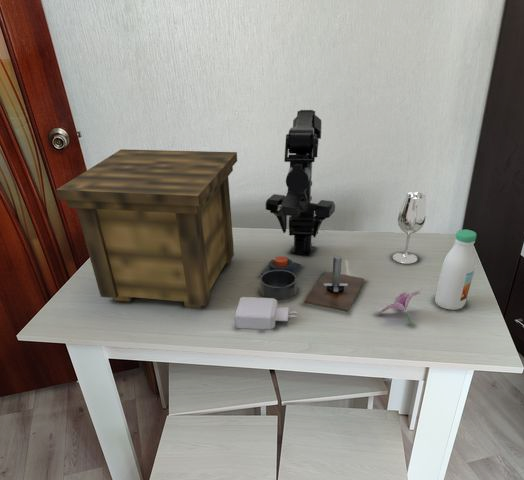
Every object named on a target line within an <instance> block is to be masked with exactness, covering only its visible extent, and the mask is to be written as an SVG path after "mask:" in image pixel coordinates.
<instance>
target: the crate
mask: <svg viewBox="0 0 524 480" xmlns="http://www.w3.org/2000/svg"><path fill="white" fill-rule="evenodd" d="M237 162H238V152H237V151H202V150H195V151H194V150H164V149H163V150H161V149H124V148H123V149H122V148H121V149H119V150H117V151H116V152H114V153H113V154H111V155H109V156H108V157H106V158H105V159H103V160H101V161H100V162H98V163H96V164H95V165H93V166H92V167H90V168H88V169H87V170H85V171H83V172H82V173H80V174H79V175H78V176H76V177H74V178H72V179H71V180H69V181H68V182H66V183H64V184H63V185H61V186H59V187H58V188H56V189H55V191H56V194H57V198H58V200H60V201H62V200H63V201H66V203H67V207H68V208H69V209H70V208H72V209H75V210H76V212H77V213H76V214H77V216H78V220H79V222H80V227H81V231H82V234H83V237H84V242H85V246H86V249H87V253H88V255H89V260H90V263H91V266H92V270H93V273H94V278H95V281H96V285H97V288H98V292H99V295H100V297H101V298H110V299H111V298H112V299H113V301H118V302H131V301H132V299H134V298H139V299H151V300H162V301H173V302H174V301H175V302H183V305H184V307H187V308H198V309H199V308H200V309H201V308H202V307H204V306H207V304H208V302H209V300H210V298H211V290H212V288H213V286H214V284H215V283H216V281H217V279H218V277H219V276H220V273H221V272H222V270H223V268H224V267H225V265H226V263H229V262H232V260H233V258H234V256H235V250H234V249H235V248H234V235H233V223H232V208H231V197H230V181H229V176H230V175H231V174H232V172H233V171H234V168H233V167H234V165H236V163H237Z"/></svg>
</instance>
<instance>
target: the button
mask: <svg viewBox="0 0 524 480" xmlns="http://www.w3.org/2000/svg"><path fill="white" fill-rule="evenodd" d="M288 259H289V258H288V257H286V256H284V255H280V256H279V255H278V256H275V257H274V265H275V266H278V267H284V266H287V265H288Z"/></svg>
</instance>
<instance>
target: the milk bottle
mask: <svg viewBox="0 0 524 480" xmlns="http://www.w3.org/2000/svg"><path fill="white" fill-rule="evenodd" d="M454 238H455V239H454V241H455V242H454V244H453V246H452V248H451V249H450V250H449V252H448V253H447V254H446V256H445V258H444V259H443V263H442V266H441V270H440V275H439V278H438V283H437V287H436V293H435V297H434V301H435V304H436V305H437V306H438V307H440V308H442V309H446V310H451V311H455V310H461V309H462V308H463V307H464V306H465V305H466V302H467V298H468V295H469V292H470V288H471V284H472V280H473V276H474V274H475V273H474V272H475V269H476V268H475V267H476V257H475V253H474V244H475V243H476V239H477V233H476V232H475V231H473V230H470V229H459V230H457V232H456V234H455V237H454Z"/></svg>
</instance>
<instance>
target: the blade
mask: <svg viewBox="0 0 524 480" xmlns="http://www.w3.org/2000/svg"><path fill="white" fill-rule="evenodd" d="M342 261H343V256H342V255H339V254H336V255H333V258H332V272H331V273H332V282H331V283H324V286H327V291H328V292H330V293H335V294H337V293H341V292H343V291H344V286H348V284H343V283H340V274H342V273H341V272H342Z"/></svg>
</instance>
